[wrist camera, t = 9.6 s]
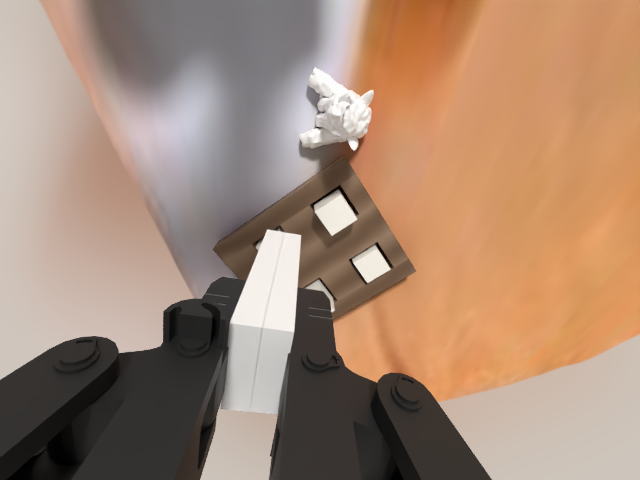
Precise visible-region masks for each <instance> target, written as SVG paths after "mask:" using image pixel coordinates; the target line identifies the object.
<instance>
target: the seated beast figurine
mask: <svg viewBox="0 0 640 480" xmlns="http://www.w3.org/2000/svg"><path fill="white" fill-rule="evenodd" d="M307 84H308V85H309V86H310V87H311V88H313V89H314V90H315V91H316V93H319V97H320V101H319V102H318V104H317V106H318V110H319V111H320V112H321V113H320V114H318V115H316V120H315V122H316V127H315V129H311V130H309V131H308V132H305V133H302V134H301V135H300V139H301V142H302V146H303V147H305V148H306V147H310V148H311V149H313V148H316V147H320V146H321V145H328V144H331V143H337V142H340V143H341V142H345V141H347V140H348V143H349V145H350V147H351V149H352V150H354V151H355V150H356V149H357V147H358V139H359V138H361V137H363V136H364V134H366V133H367V132H368V129H367V128H368V126H369V125H370V121H371V109H370V107H369V106H368V105H369V104H370V103H371V101H372V99H373V96H374V92H373V90H371V91H369V92H367V93H366V94H364V95H363V96H361V97H360V95H358V94H356V93H355V92H353V91H352V90H347V89H346V88H345V87H344V86H343V85H341V84H338V83H337V82H335V81H334V80H333V79H332V77H331V76H329V75H328V74H325V73H324V72H322V71H321V70H319V69H317V68H314V69H313V73H312V75H311V76H310V78H309V80H308V83H307ZM326 97H327V98H326ZM322 112H325V113H324V114H323V113H322ZM317 126H318V127H320V128H322V129H319V128H317ZM357 138H358V139H357Z"/></svg>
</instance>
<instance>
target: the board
mask: <svg viewBox="0 0 640 480" xmlns="http://www.w3.org/2000/svg"><path fill="white" fill-rule="evenodd" d="M339 185H341V187H342V189H343V190H344V192H345V193H346V195H347V196H348V198H349V199H350V201H351V202H352V204H353V205H354V207H355V208H356V209H355V210H354V211H353V212H354V214H355V216H356V218H357V220H356V221H354V222H353V223H351V224H350V225H348V226H347V227H345V228H344V229H342V230H340V231H339V232H337V233H336V234H334V235H333V236H331V234H330V233H329V231H328V230H327V229H326V227H325V226H324V224H323V223H322V221H321V220H320V219H319V217H318V216H317V214H316V213H315V209H314V206H313V205H312V203H314V202H315V201H317V200H318V199H320V198H321V197H323V196H324V195H325V194H327V193H328V192H330V191H331V190H333V189H334V188H336V187H337V186H339ZM279 225H280V226H281V227H282V229H283V230H284V231H285V233H291V234H297V235H301V245H300V259H299V273H298V287H299V288H303V287H305V286H307V285H308V284H310V283H311V282H313V281H315V280H316V279H318V278H321V279H322V281H323V282H324V283H325V285H326V286H327V287H328V289H329V290H330V291H331V292H332V293H331V296H332V297H333V301H334V308H335V311H333V312H332V320H333V319H335V318H337V317H338V316H340V315H342V314H343V313H345V312H347V311H349V310H350V309H352V308H354V307H356V306H357V305H359V304H361V303H362V302H364V301H366V300H368V299H369V298H371V297H373V296H374V295H376V294H378V293H380V292H381V291H383V290H385V289H387V288H388V287H390V286H392V285H393V284H395V283H397V282H399V281H400V280H402V279H404V278H406V277H407V276H409V275H411V274H412V273H414V272H416V270H415V268H414V267H413V265H412V263H411V262H410V260H409V259H408V257H407V255H406V254H405V252H404V251H403V249H402V247H401V246H400V244H399V242H398V241H397V239H396V238H395V236H394V234H393V233H392V231H391V230H390V228H389V226H388V225H387V223H386V222H385V220H384V218H383V217H382V215H381V214H380V212H379V210H378V209H377V207H376V205H375V204H374V202H373V201H372V199H371V197H370V196H369V194H368V193H367V191H366V189H365V188H364V186H363V185H362V183H361V181H360V180H359V178H358V177H357V175H356V173H355V172H354V170H353V169H352V167H351V165H350V164H349V162H348V160H347V159H346V158H345V157H344V156H342V157H341V158H339V159H338V160H336V161H335V162H333V163H332V164H331V165H329V166H328V167H326V168H325V169H323V170H322V171H320V172H319V173H318V174H316V175H315V176H313V177H312V178H310V179H309V180H307V181H306V182H305V183H303V184H302V185H300V186H299V187H297V188H296V189H294V190H293V191H291V192H290V193H289V194H287V195H286V196H284V197H283V198H281V199H280V200H278V201H277V202H276V203H274V204H273V205H271V206H270V207H268V208H267V209H265V210H264V211H262V212H261V213H260V214H258V215H257V216H255V217H254V218H252V219H251V220H249V221H248V222H247V223H245V224H244V225H242V226H241V227H239V228H238V229H236V230H235V231H234V232H232V233H231V234H229V235H228V236H226V237H225V238H223V239H222V240H220V241H219V242H218V243H217V245H216V246H215V247H214V248H213V250H214V251H215V252H216V254H217V255H218V256H219V257H220V258H221V259H222V260H223V261H224V263H225V264H226V265H227V266H228V267H229V268H230V269H231V270H232V272H233V273H234V274H235V275H236V276H237V277H238V278H239V279H240V280H246V281H247V279H248V276H249V274H250V271H251V269H252V266H253V264H254V261H255V259H256V256H257V254H258V250H257V249H256V245H257V243H258V239H260V238H261V237H263V236H264V235H265V234H266V231H267V229H268V230H273V229H275V228H276V227H278V226H279ZM376 242H378V244H379V245H380V247H381V248H382V250H383V251H384V253H385V255H386V256H387V258H388V260H387V261H386V262H387V263H388V265H389V267H390V269H391V270H389V271H387V272H386V273H384V274H382V275H380V276H379V277H377V278H375V279H374V280H372V281H370V282H369V283H367V282H366V280H365V279H364V277H363V276H362V275H361V273H360V272H359V270H358V269H357V268H356V266H355V265H354V263H353V262H352V260H351V259H350V258H352V257H354V256H355V255H357V254H359V253H360V252H362V251H363V250H365V249H367V248H368V247H370V246H372V245H373V244H375V243H376Z"/></svg>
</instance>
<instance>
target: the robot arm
mask: <svg viewBox="0 0 640 480" xmlns="http://www.w3.org/2000/svg"><path fill="white" fill-rule="evenodd" d="M300 245H301V235H297V234H291V233H285V232H280V231H274V230H268V229H267V231H266V234H265V236H264V239H263V241H262V244H261V246H260V249H259V251H258V254H257V256H256V259H255V261H254V264H253V266H252V269H251V271H250V274H249V276H248V279H247V281H246V280H239V279H233V278H226V277H221V278H219V279H218V280H216V281H215V282H213V283H211V285H210V286H209V288H208V290H207V291H206V294H205V295H204V296H203V298H202V299H189V300H183V301H180V302H177V303H175V304H172V305H171V306H169V307H168V308H167V309H166V310H165V311H164V317H163V323H164V324H163V343H162V345H161V346H160V347H157V348H154V349H150V350H144V351H136V352H126V353H119V351H118V348H117V346H116V344H115V342H113V341H111V340H109V339H108V338H103V337H97V336H92V337H80V338H76V339H73V340H70V341H65V342H63V343H61V344H59V345H57V346H55V347H53V348H51V349H49V350H47V351H46V352H44V353H43V354H41V355H40V356H38V357H36V358H34V359H33V360H31V361H30V362H28V363H26V364H25V365H23V366H22V367H20V368H19V369H17V370H15V371H14V372H12V373H11V374H9V375H7V376H6V377H4V378H3V379H1V380H0V480H200V478H201V475H202V471H203V468H204V465H205V462H206V458H207V455H208V452H209V448H210V445H211V442H212V439H213V435H214V432H215V426H216V416H217V412H218V409H219V406H220V403H221V409H228V410H236V411H247V412H255V413H265V414H274V415H278V418H277V424H276V429H275V434H274V439H273V444H272V450H271V454H270V456H272V459H271V468H270V476H269V480H492V479H491V478H490V476H489V475H488V474H487V472H486V471H485V469H484V468H483V466H482V465H481V464H480V462H479V461H478V460H477V458H476V457H475V455H474V454H473V452H472V451H471V449H470V448H469V447H468V445H467V444H466V442H465V441H464V440H463V438H462V437H461V435H460V434H459V432H458V431H457V430H456V428H455V427H454V425H453V424H452V422H451V421H450V420H449V418H448V417H447V415H446V414H445V412H444V411H443V410H442V408H441V407H440V405H439V404H438V402H437V401H436V400H435V398H434V397H433V395H432V394H431V393H430V392H429V391H428V389H427V388H426V387H425V386H424V385H423V384H421V383H420V382H418V381H417V380H416V379H414V378H412V377H410V376H407V375H405V374H401V373H389V374H385V375H383V376H382V377H381V378H380V379H379V380H378V383H376V382H374V381H371V380H369V379H366V378H364V377H361V376H359V375H357V374H355V373H353V372H352V371H351V370H349V369H348V368H346V367H345V364H344V362H343V359H342V357H341V356H340V355H339V354H338V352H337V351H336V345H335V337H334V329H333V320H332V312H331V304H330V299H329V298H328V297H327V295H326V294H325V293H324V291H319V290H312V289H306V288H299V287H298V273H299V259H300ZM221 400H222V401H221Z"/></svg>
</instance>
